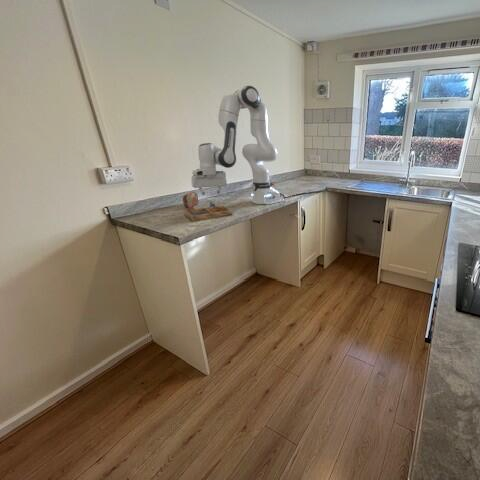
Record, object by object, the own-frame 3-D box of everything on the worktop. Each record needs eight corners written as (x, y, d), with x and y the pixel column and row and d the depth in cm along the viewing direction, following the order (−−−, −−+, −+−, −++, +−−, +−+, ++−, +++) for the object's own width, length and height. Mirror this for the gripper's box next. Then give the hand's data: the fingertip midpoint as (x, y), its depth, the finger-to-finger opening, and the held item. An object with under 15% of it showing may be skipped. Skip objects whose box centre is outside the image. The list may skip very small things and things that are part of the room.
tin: (188, 209, 162) (186, 195, 159) (183, 208, 162) (181, 195, 159) (199, 203, 176) (197, 191, 173) (194, 203, 176) (192, 190, 173)
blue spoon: (208, 206, 168) (207, 202, 167) (213, 206, 170) (213, 201, 169) (213, 210, 161) (212, 205, 160) (219, 209, 163) (218, 204, 162)
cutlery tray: (223, 209, 163) (223, 205, 162) (232, 215, 153) (231, 210, 152) (185, 215, 150) (185, 210, 149) (192, 221, 140) (191, 216, 139)
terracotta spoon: (186, 209, 161) (185, 205, 160) (192, 208, 163) (192, 204, 162) (191, 213, 153) (190, 208, 152) (197, 212, 156) (196, 207, 154)
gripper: (223, 170, 166) (225, 191, 171) (189, 171, 154) (192, 194, 158) (227, 171, 161) (229, 193, 166) (192, 172, 149) (195, 196, 154)
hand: (210, 194), depth 162 cm, fingers open, 8 cm apart
